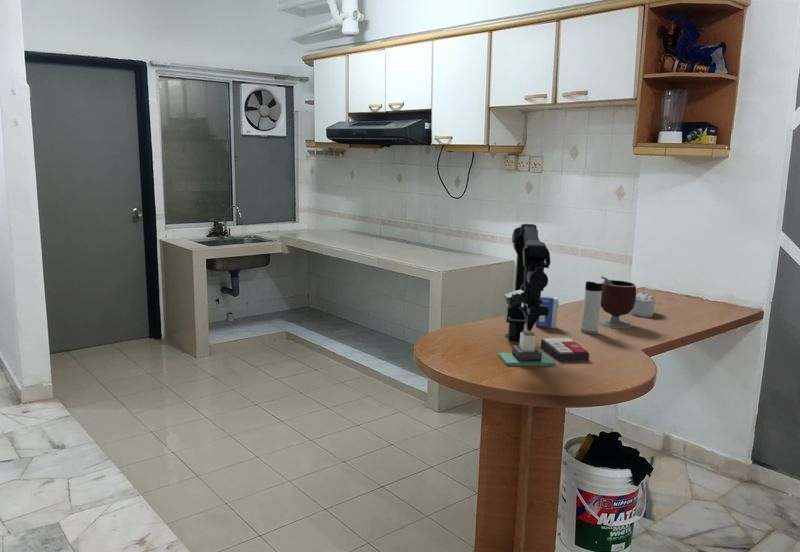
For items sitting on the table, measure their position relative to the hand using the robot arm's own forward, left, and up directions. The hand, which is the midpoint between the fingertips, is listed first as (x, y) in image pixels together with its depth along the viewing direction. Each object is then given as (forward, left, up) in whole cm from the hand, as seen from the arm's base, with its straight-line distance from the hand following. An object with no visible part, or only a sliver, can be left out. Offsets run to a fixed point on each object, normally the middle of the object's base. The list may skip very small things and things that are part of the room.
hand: (528, 330), depth 215 cm
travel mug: (-36, +36, -11) cm, 52 cm away
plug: (0, 0, -8) cm, 8 cm away
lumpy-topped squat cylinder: (-68, +73, -11) cm, 100 cm away
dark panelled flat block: (-8, +16, -11) cm, 21 cm away
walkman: (-43, +21, -11) cm, 49 cm away
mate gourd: (-48, +51, -11) cm, 71 cm away
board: (0, 0, -10) cm, 10 cm away
